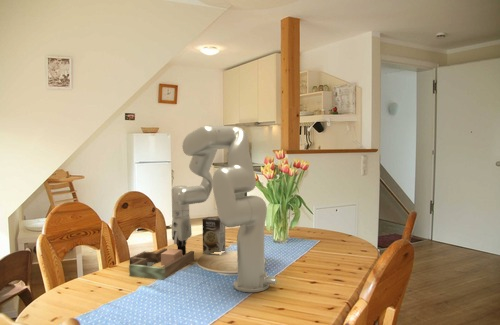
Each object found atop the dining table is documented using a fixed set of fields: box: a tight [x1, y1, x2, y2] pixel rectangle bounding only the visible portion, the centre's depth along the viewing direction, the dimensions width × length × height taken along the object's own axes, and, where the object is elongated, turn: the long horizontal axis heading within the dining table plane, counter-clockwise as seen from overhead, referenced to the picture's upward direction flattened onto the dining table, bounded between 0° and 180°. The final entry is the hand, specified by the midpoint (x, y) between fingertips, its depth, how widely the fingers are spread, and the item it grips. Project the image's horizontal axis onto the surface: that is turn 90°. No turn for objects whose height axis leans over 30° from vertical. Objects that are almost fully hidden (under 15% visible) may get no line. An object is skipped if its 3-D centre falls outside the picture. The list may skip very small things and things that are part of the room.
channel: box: [128, 248, 195, 280], centre depth 152 cm, size 21×24×4 cm
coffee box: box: [202, 216, 227, 255], centre depth 171 cm, size 9×6×16 cm
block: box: [160, 248, 183, 266], centre depth 157 cm, size 6×8×5 cm
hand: (181, 254), depth 165 cm, fingers closed
